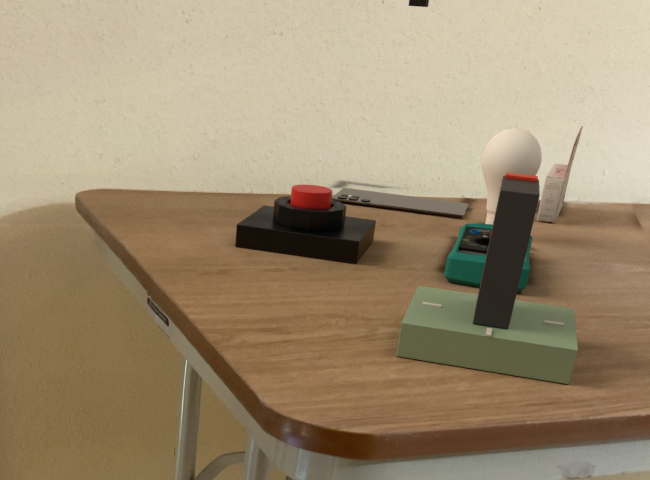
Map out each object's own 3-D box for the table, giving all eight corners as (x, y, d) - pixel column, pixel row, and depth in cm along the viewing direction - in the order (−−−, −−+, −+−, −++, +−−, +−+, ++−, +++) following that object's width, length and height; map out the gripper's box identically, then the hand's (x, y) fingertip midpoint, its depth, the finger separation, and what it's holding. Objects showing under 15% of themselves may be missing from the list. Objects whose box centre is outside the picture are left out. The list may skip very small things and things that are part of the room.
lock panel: (565, 339, 69) (574, 305, 68) (568, 385, 61) (579, 348, 59) (413, 315, 71) (418, 283, 70) (395, 356, 63) (401, 320, 62)
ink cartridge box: (535, 221, 106) (555, 132, 101) (543, 205, 115) (563, 123, 110) (556, 224, 105) (578, 135, 100) (563, 208, 114) (583, 125, 109)
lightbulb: (489, 245, 94) (513, 132, 88) (455, 231, 99) (476, 123, 93) (534, 243, 96) (560, 133, 90) (499, 229, 101) (522, 124, 95)
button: (334, 206, 88) (336, 187, 87) (325, 214, 85) (328, 194, 84) (295, 201, 89) (296, 182, 88) (285, 208, 86) (287, 189, 85)
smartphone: (463, 215, 104) (331, 195, 107) (462, 220, 104) (330, 200, 107) (468, 203, 110) (343, 185, 113) (467, 208, 110) (343, 189, 114)
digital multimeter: (527, 257, 91) (534, 228, 89) (524, 296, 78) (532, 262, 77) (456, 248, 92) (461, 218, 91) (441, 284, 80) (447, 251, 78)
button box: (373, 242, 92) (378, 201, 90) (356, 265, 83) (362, 221, 81) (262, 226, 94) (265, 187, 92) (235, 247, 86) (237, 204, 84)
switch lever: (508, 329, 62) (540, 190, 57) (472, 323, 62) (501, 185, 58) (510, 305, 67) (540, 176, 62) (476, 300, 67) (503, 171, 62)
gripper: (553, -338, 69) (492, 11, 82) (389, -336, 72) (354, 2, 84) (556, -372, 63) (489, 11, 76) (375, -369, 66) (340, 1, 78)
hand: (418, 6), depth 80 cm, fingers closed
